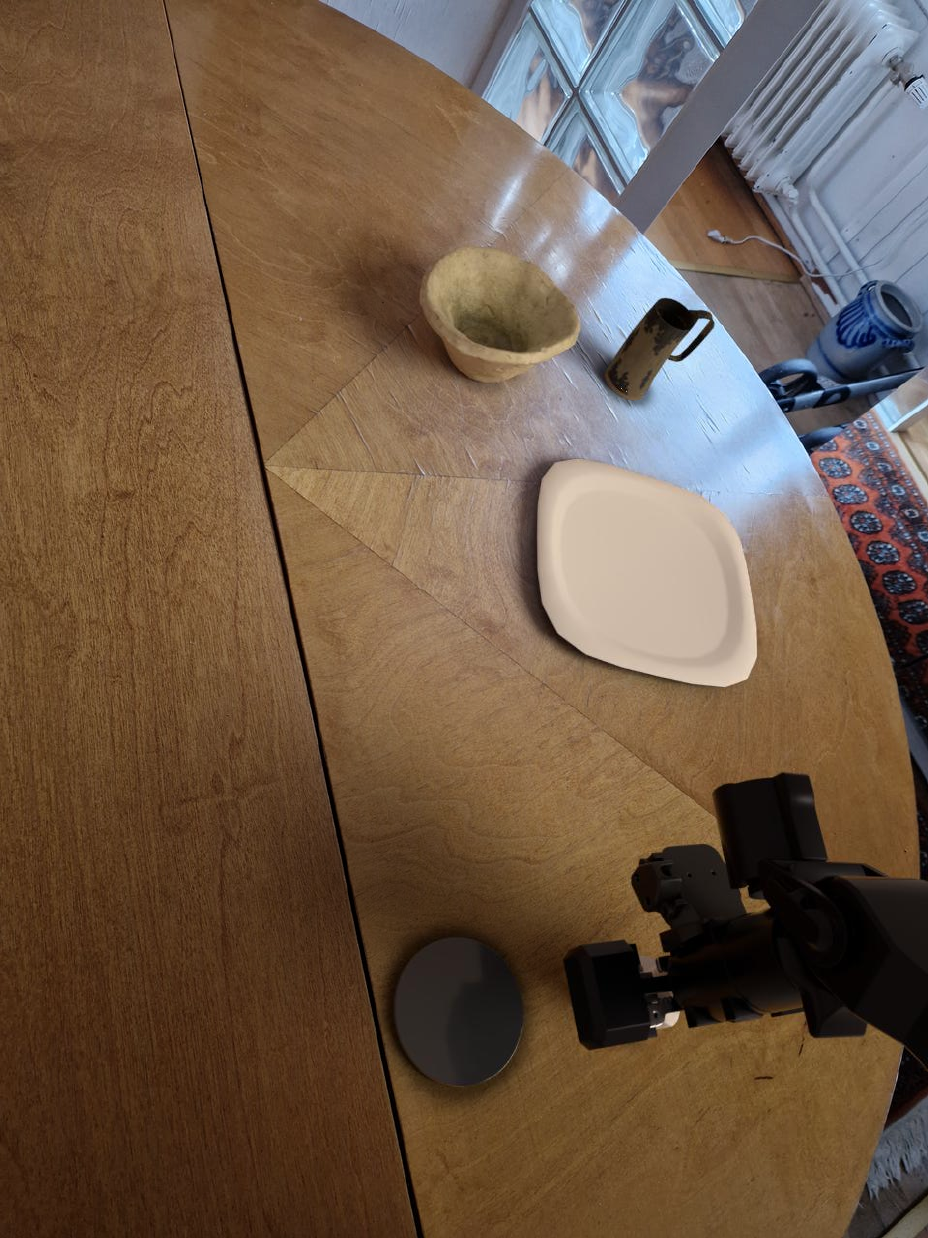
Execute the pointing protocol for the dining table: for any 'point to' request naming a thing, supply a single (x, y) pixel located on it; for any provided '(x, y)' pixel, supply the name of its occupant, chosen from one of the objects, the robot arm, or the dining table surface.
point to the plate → (644, 575)
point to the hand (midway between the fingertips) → (634, 996)
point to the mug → (654, 346)
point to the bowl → (496, 312)
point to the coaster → (458, 1012)
